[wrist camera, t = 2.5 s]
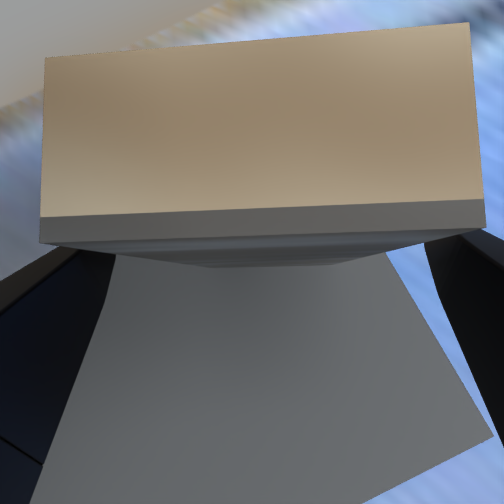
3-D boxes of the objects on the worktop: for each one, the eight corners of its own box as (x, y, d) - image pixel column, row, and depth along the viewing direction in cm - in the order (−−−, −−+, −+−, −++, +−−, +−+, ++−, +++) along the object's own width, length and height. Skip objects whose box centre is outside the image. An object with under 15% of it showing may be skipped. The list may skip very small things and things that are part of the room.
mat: (486, 430, 17) (494, 435, 16) (38, 659, 18) (30, 672, 17) (313, 138, 19) (314, 134, 18) (-81, 358, 20) (-93, 360, 19)
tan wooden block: (331, 265, 17) (486, 227, 4) (212, 268, 18) (39, 242, 5) (329, 210, 18) (469, 22, 5) (211, 214, 18) (45, 57, 5)
